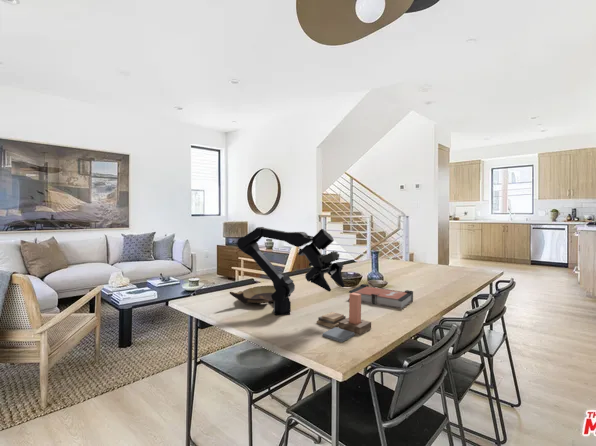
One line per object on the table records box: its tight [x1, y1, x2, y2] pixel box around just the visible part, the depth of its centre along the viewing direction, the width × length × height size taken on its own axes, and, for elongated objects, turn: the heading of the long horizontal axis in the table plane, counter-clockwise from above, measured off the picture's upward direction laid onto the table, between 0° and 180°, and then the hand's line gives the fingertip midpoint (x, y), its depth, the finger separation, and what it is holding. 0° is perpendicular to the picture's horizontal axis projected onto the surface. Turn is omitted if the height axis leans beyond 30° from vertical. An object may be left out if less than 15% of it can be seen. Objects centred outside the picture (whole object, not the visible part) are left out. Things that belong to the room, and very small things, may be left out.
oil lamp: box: [229, 285, 276, 304], centre depth 158 cm, size 22×30×8 cm
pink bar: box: [348, 293, 362, 325], centre depth 122 cm, size 4×2×13 cm
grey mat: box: [322, 327, 355, 343], centre depth 115 cm, size 8×8×1 cm
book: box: [348, 283, 414, 310], centre depth 161 cm, size 26×18×5 cm
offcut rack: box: [316, 311, 372, 335], centre depth 126 cm, size 19×10×3 cm, turn 49°
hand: (337, 288), depth 127 cm, fingers open, 9 cm apart
